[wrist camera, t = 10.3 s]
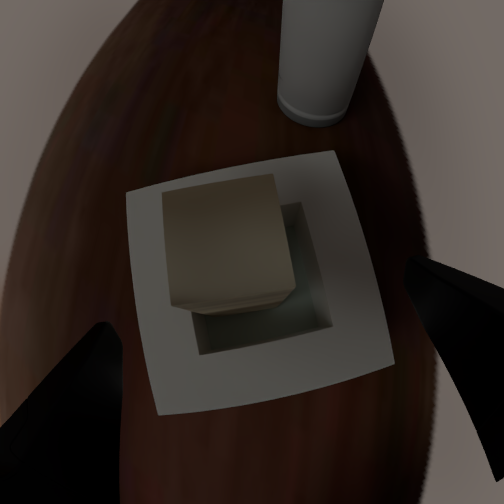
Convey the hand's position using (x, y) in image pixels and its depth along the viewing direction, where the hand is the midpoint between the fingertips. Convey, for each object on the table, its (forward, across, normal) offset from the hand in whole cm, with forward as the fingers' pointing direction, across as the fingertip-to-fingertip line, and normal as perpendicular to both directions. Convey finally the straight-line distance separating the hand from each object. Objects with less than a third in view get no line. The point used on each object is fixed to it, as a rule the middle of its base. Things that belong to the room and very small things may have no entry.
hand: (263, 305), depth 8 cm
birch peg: (+10, +1, +6) cm, 11 cm away
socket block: (+10, 0, +7) cm, 12 cm away
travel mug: (+20, -8, -3) cm, 22 cm away
